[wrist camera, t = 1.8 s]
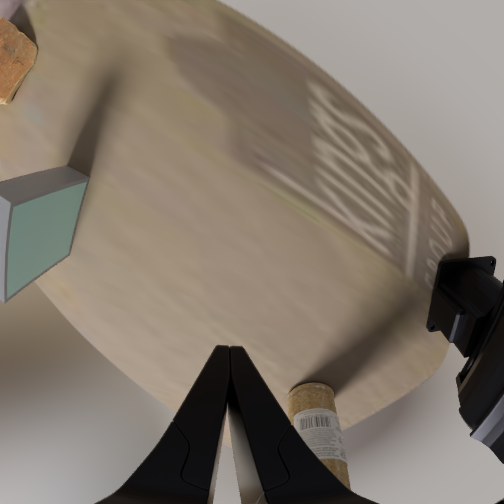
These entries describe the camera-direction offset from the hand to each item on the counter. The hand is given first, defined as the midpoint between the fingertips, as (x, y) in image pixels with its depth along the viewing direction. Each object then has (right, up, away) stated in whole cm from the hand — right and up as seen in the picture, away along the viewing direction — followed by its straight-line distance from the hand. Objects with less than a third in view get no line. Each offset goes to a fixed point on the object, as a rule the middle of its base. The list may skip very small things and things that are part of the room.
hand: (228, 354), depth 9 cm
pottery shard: (-23, +20, +7) cm, 31 cm away
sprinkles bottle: (+6, -10, +17) cm, 20 cm away
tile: (-14, +6, +11) cm, 19 cm away
